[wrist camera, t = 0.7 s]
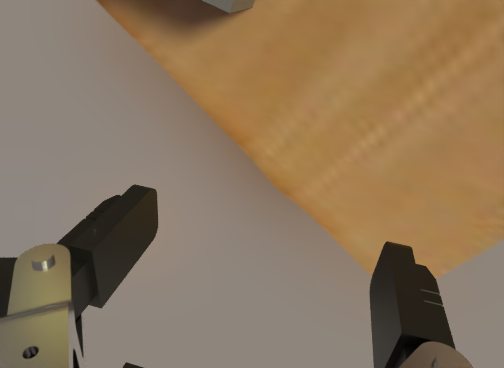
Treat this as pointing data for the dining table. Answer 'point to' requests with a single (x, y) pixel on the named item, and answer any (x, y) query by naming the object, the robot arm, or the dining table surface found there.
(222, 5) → the block
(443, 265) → the dining table surface
